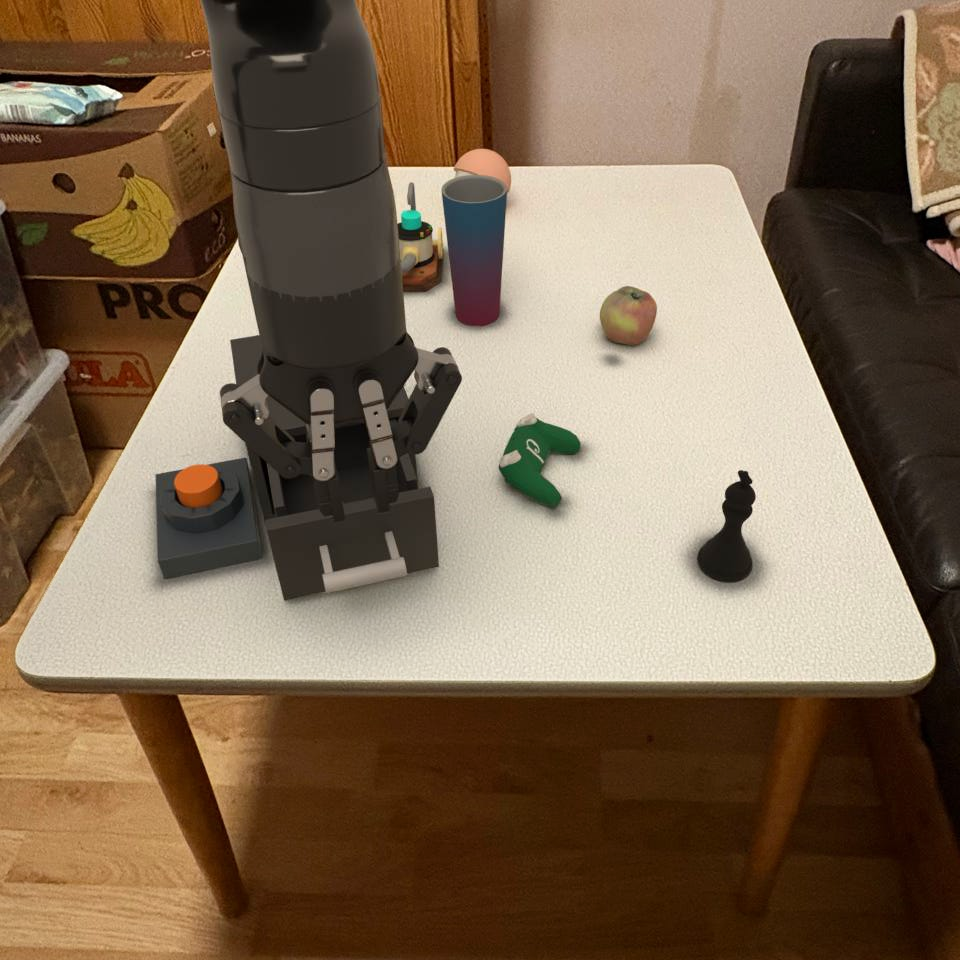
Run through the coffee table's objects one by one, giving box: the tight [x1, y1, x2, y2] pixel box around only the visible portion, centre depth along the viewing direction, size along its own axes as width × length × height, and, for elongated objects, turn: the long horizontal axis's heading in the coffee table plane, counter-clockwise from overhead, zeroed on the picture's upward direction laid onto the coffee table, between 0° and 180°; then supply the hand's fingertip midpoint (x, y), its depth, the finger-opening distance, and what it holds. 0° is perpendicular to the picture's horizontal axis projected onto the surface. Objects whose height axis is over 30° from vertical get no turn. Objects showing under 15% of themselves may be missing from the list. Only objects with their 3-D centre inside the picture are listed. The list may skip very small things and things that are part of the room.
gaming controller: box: [498, 412, 581, 508], centre depth 82 cm, size 9×4×6 cm
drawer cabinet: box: [229, 334, 420, 522], centre depth 83 cm, size 15×14×10 cm
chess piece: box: [696, 469, 757, 583], centre depth 71 cm, size 4×4×10 cm
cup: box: [441, 175, 508, 327], centre depth 99 cm, size 7×7×15 cm
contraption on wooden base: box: [397, 181, 445, 293], centre depth 106 cm, size 14×18×15 cm
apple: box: [599, 285, 658, 346], centre depth 97 cm, size 6×8×6 cm
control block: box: [155, 457, 263, 580], centre depth 78 cm, size 11×8×4 cm
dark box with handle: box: [264, 417, 440, 602], centre depth 73 cm, size 18×12×8 cm
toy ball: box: [453, 148, 512, 195], centre depth 122 cm, size 8×8×8 cm
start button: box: [174, 463, 222, 508], centre depth 76 cm, size 4×4×2 cm
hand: (360, 507), depth 56 cm, fingers closed
